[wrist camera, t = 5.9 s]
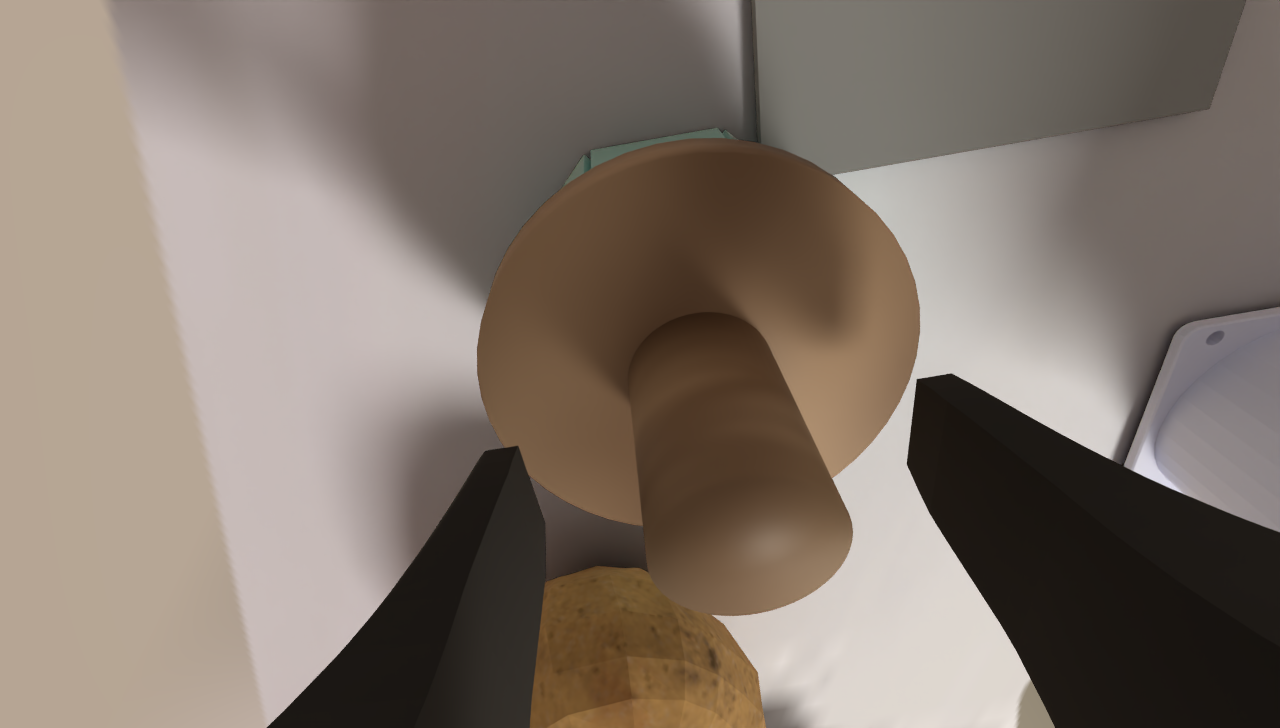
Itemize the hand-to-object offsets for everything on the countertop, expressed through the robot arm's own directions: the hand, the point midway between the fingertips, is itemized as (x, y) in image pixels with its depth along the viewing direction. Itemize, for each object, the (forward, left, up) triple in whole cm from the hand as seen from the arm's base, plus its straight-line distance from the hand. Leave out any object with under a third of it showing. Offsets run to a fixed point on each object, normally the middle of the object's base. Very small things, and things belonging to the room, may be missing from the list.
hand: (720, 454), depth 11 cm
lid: (0, 0, -3) cm, 3 cm away
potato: (+4, +14, -7) cm, 16 cm away
